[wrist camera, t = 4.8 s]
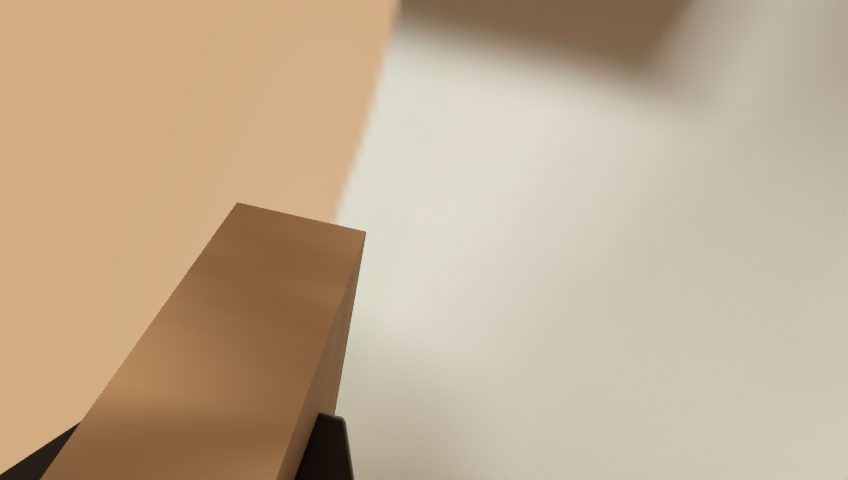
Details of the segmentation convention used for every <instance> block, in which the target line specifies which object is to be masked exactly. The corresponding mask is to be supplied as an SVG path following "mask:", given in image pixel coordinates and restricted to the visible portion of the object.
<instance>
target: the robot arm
mask: <svg viewBox="0 0 848 480" xmlns="http://www.w3.org/2000/svg"><path fill="white" fill-rule="evenodd" d="M80 423H81V422H79V423H78V424H76V425H75V426H73V427H72V428H70V429H69V430H68V431H66V432H64V433H63V434H61V435H60V436H58V437H57V438H55V439H54V440H52V441H51V442H49V443H48V444H46V445H45V446H43V447H42V448H40V449H39V450H37V451H36V452H34V453H33V454H31V455H29V456H28V457H26V458H25V459H24V460H22V461H20V462H19V463H17V464H16V465H15V466H13V467H11V468H10V469H8V470H7V471H5V472H4V473H2V474H1V475H0V480H40V479H41V477H42V476H43V475H44V473H45V472H46V470H47V469H48V468H49V466H50V465H51V463H52V462H53V461H54V459H55V458H56V456H57V455H58V454H59V452H60V451H61V449H62V448H63V447H64V445H65V444H66V442H67V441H68V440H69V438H70V437H71V435H72V434H73V432H74V431H75V430H76V428H77V427H78V425H79V424H80ZM294 480H354V475H353V468H352V461H351V454H350V448H349V441H348V434H347V428H346V422H345V420H344V418H342V417H340V416H335V415H331V414H326V413H319V414H318V417H317V419H316V422H315V425H314V427H313V430H312V433H311V435H310V438H309V441H308V444H307V446H306V449H305V452H304V454H303V457H302V460H301V462H300V465H299V468H298V470H297V473H296V476H295V479H294Z"/></svg>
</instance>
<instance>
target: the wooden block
mask: <svg viewBox="0 0 848 480" xmlns="http://www.w3.org/2000/svg"><path fill="white" fill-rule="evenodd" d="M365 236H366V232H365V231H360V230H356V229H351V228H347V227H343V226H338V225H334V224H329V223H325V222H321V221H316V220H312V219H307V218H303V217H298V216H294V215H290V214H285V213H281V212H277V211H272V210H268V209H263V208H259V207H255V206H250V205H246V204H242V203H236V205H235V206H234V208H233V209H232V211H231V212H230V213H229V215H228V216H227V217H226V219H225V220H224V222H223V223H222V224H221V226H220V227H219V229H218V230H217V231H216V233H215V235H214V236H213V237H212V239H211V240H210V241H209V243H208V244H207V246H206V247H205V248H204V250H203V251H202V253H201V254H200V256H199V257H198V258H197V260H196V261H195V262H194V264H193V265H192V267H191V268H190V269H189V271H188V272H187V274H186V275H185V276H184V278H183V279H182V281H181V282H180V284H179V285H178V286H177V288H176V289H175V291H174V292H173V293H172V295H171V296H170V298H169V299H168V301H167V302H166V303H165V305H164V306H163V307H162V309H161V310H160V312H159V313H158V314H157V316H156V317H155V319H154V320H153V322H152V323H151V324H150V326H149V327H148V329H147V330H146V331H145V333H144V334H143V336H142V337H141V338H140V340H139V341H138V343H137V344H136V345H135V347H134V348H133V350H132V351H131V352H130V354H129V355H128V357H127V358H126V359H125V361H124V362H123V364H122V365H121V367H120V368H119V369H118V371H117V372H116V374H115V375H114V376H113V378H112V379H111V381H110V382H109V383H108V385H107V386H106V388H105V389H104V390H103V392H102V393H101V395H100V396H99V398H98V399H97V400H96V402H95V403H94V404H93V406H92V408H91V409H90V410H89V411H88V413H87V414H86V416H85V417H84V419H83V420H82V421H81V423H80V424H79V425H78V427H77V428H76V430H75V431H74V432H73V434H72V435H71V437H70V438H69V440H68V441H67V442H66V444H65V445H64V447H63V448H62V449H61V451H60V452H59V454H58V455H57V456H56V458H55V459H54V461H53V462H52V463H51V465H50V466H49V468H48V469H47V470H46V472H45V473H44V475H43V476H42V477H41V479H40V480H294V479H295V476H296V473H297V470H298V468H299V465H300V462H301V460H302V457H303V454H304V452H305V449H306V446H307V444H308V441H309V438H310V435H311V433H312V430H313V427H314V425H315V422H316V419H317V417H318V414H319V413H326V414H331V415H334V414H335V408H336V403H337V397H338V391H339V385H340V380H341V374H342V368H343V362H344V357H345V351H346V345H347V339H348V334H349V328H350V322H351V316H352V310H353V305H354V299H355V293H356V287H357V282H358V276H359V270H360V264H361V259H362V253H363V247H364V241H365Z"/></svg>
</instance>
